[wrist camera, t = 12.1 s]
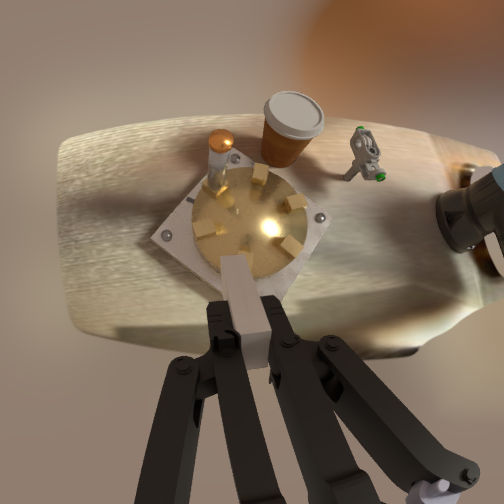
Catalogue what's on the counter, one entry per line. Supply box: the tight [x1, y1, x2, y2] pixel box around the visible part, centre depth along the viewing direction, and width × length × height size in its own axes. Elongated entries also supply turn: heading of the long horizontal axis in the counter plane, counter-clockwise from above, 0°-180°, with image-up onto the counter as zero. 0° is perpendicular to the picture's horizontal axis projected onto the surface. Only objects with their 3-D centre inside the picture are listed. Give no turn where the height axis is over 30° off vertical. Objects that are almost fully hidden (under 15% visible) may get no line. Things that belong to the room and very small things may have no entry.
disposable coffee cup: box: [261, 91, 324, 168], centre depth 42 cm, size 10×10×12 cm
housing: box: [151, 148, 333, 302], centre depth 41 cm, size 20×20×3 cm
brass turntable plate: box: [192, 129, 308, 280], centre depth 33 cm, size 16×16×14 cm
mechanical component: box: [344, 126, 386, 182], centre depth 44 cm, size 3×10×10 cm, turn 11°
